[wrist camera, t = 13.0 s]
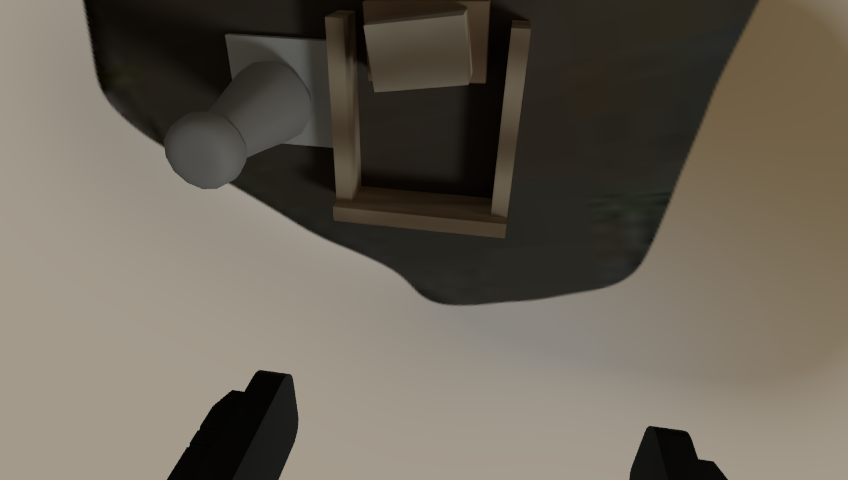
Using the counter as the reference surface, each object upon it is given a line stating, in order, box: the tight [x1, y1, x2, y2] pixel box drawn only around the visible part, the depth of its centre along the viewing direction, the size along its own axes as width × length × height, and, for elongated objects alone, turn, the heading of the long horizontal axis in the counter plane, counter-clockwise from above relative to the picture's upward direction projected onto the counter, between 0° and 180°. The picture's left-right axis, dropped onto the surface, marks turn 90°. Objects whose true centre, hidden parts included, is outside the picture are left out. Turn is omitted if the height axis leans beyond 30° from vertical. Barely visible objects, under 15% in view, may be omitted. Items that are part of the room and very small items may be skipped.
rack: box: [325, 10, 531, 238], centre depth 38 cm, size 15×13×4 cm
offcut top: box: [364, 7, 472, 92], centre depth 33 cm, size 4×6×3 cm, turn 97°
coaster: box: [225, 33, 333, 148], centre depth 40 cm, size 8×8×1 cm
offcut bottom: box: [363, 0, 491, 83], centre depth 36 cm, size 5×8×3 cm, turn 91°
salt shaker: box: [164, 61, 311, 189], centre depth 34 cm, size 6×6×13 cm
